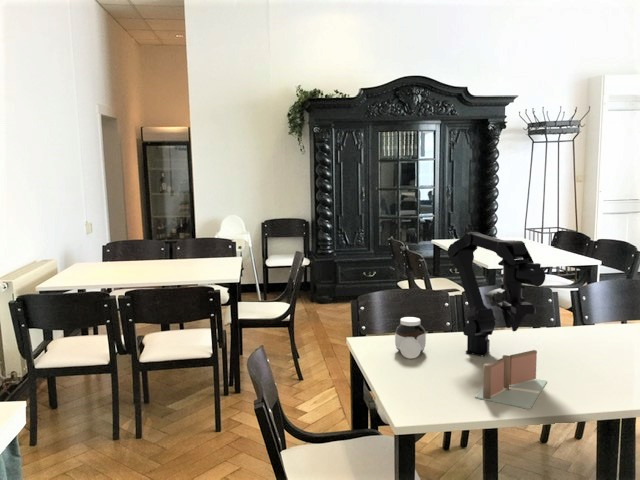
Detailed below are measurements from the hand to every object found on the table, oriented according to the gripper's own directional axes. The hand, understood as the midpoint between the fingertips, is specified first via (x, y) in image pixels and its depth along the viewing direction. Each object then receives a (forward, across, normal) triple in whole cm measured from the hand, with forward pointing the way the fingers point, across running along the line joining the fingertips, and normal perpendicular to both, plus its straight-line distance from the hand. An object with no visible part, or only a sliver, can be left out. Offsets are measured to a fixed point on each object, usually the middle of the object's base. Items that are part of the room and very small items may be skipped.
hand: (511, 329), depth 169 cm
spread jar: (+12, -17, -28) cm, 35 cm away
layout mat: (+12, +18, -8) cm, 23 cm away
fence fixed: (+12, +20, -13) cm, 27 cm away
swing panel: (+11, +15, -5) cm, 20 cm away
